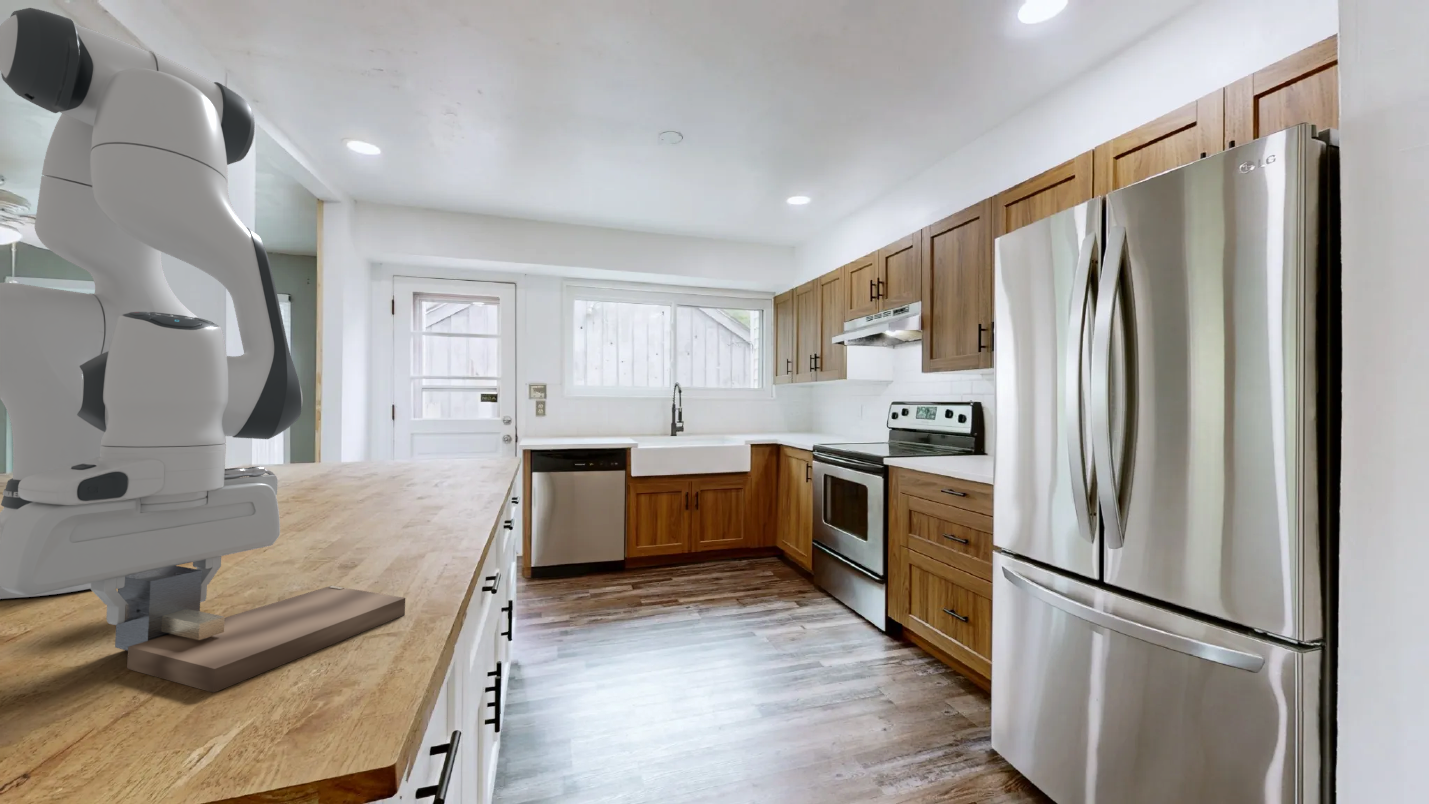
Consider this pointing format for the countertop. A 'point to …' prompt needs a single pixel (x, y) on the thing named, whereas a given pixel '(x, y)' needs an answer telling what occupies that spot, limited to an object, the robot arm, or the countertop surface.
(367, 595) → the board
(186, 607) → the upright grey metal block
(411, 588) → the countertop surface
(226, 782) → the countertop surface
